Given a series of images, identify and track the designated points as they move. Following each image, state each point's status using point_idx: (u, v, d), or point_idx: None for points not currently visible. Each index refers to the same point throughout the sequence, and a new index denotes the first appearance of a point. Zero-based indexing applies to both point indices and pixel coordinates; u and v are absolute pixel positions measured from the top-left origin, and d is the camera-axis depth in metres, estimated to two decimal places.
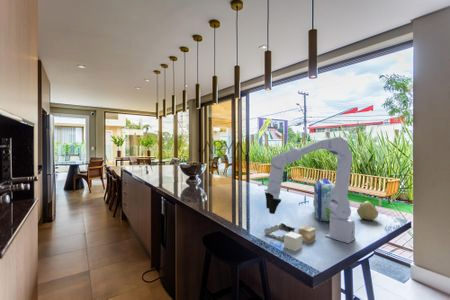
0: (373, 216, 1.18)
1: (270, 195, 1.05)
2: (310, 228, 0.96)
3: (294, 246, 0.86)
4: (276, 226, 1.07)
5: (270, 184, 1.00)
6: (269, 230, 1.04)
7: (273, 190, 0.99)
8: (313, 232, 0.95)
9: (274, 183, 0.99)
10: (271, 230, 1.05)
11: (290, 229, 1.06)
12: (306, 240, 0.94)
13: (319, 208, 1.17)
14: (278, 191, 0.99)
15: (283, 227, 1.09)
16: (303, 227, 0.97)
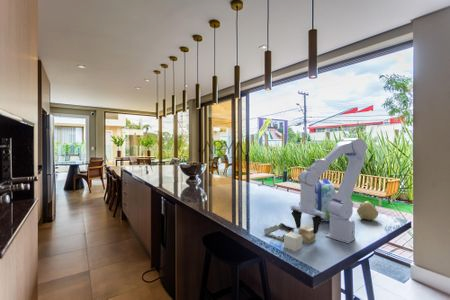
0: (373, 216, 1.18)
1: (298, 214, 0.99)
2: (310, 228, 0.96)
3: (294, 246, 0.86)
4: (276, 226, 1.08)
5: (309, 204, 0.93)
6: (269, 230, 1.04)
7: (312, 209, 0.94)
8: None
9: (312, 201, 0.94)
10: (271, 230, 1.05)
11: (290, 229, 1.06)
12: (306, 240, 0.94)
13: (319, 208, 1.17)
14: None
15: (283, 227, 1.09)
16: (303, 227, 0.97)
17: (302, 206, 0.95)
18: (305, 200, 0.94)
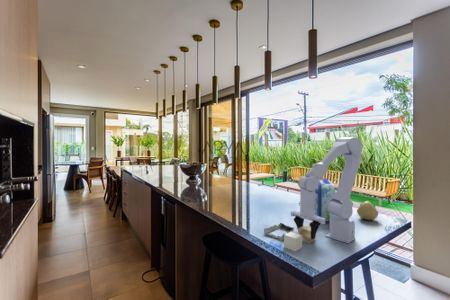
0: (373, 216, 1.18)
1: (301, 220, 0.98)
2: (310, 228, 0.96)
3: (294, 246, 0.86)
4: (275, 226, 1.08)
5: (308, 209, 0.93)
6: (268, 230, 1.04)
7: (312, 215, 0.94)
8: None
9: (312, 207, 0.94)
10: (270, 230, 1.05)
11: (289, 229, 1.06)
12: (306, 240, 0.94)
13: (319, 208, 1.17)
14: None
15: (282, 227, 1.09)
16: (303, 227, 0.97)
17: (302, 212, 0.95)
18: (305, 206, 0.94)
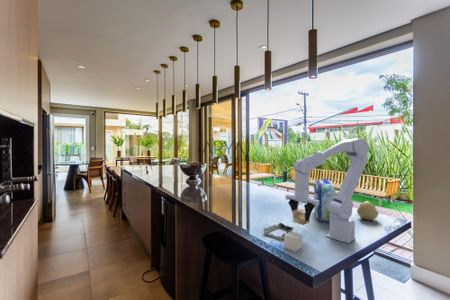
0: (373, 216, 1.18)
1: (295, 203, 0.99)
2: (304, 211, 0.97)
3: (294, 246, 0.86)
4: (275, 226, 1.08)
5: (303, 192, 0.94)
6: (268, 230, 1.04)
7: (307, 197, 0.95)
8: None
9: (307, 190, 0.95)
10: (270, 230, 1.05)
11: (288, 228, 1.06)
12: (300, 222, 0.95)
13: (319, 208, 1.17)
14: None
15: (281, 227, 1.09)
16: (297, 210, 0.98)
17: (296, 194, 0.96)
18: (299, 188, 0.95)
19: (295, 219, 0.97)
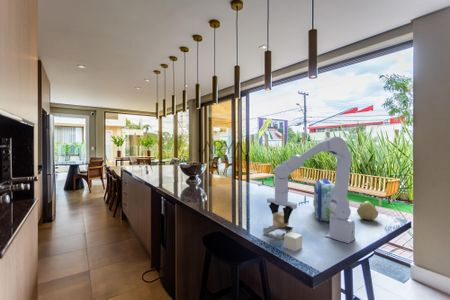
0: (373, 216, 1.18)
1: (275, 206, 1.04)
2: None
3: (294, 246, 0.86)
4: (274, 225, 1.08)
5: (282, 196, 0.99)
6: (267, 229, 1.04)
7: (285, 201, 1.00)
8: None
9: (285, 194, 1.00)
10: (269, 229, 1.05)
11: (288, 228, 1.07)
12: (279, 224, 1.00)
13: (319, 208, 1.17)
14: (287, 200, 1.02)
15: None
16: (277, 212, 1.03)
17: (276, 198, 1.01)
18: (278, 192, 1.00)
19: (275, 221, 1.02)
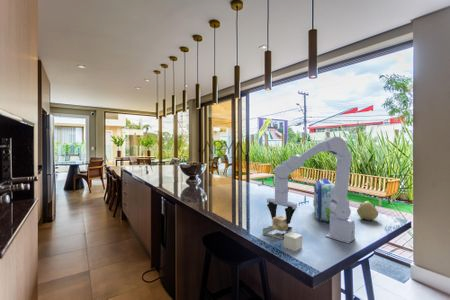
0: (373, 216, 1.18)
1: (273, 206, 1.05)
2: (283, 218, 1.02)
3: (294, 246, 0.86)
4: None
5: (282, 196, 0.99)
6: (267, 230, 1.05)
7: (285, 201, 1.00)
8: None
9: (285, 194, 1.00)
10: (269, 229, 1.06)
11: None
12: (279, 229, 1.00)
13: (319, 208, 1.17)
14: (287, 200, 1.02)
15: None
16: (277, 217, 1.03)
17: (276, 198, 1.01)
18: (278, 192, 1.00)
19: (274, 226, 1.02)
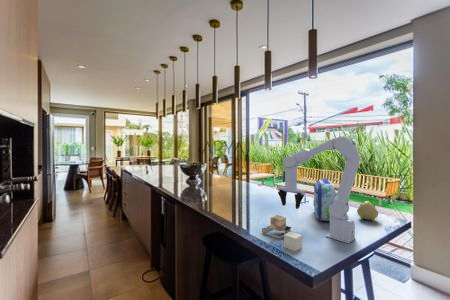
0: (373, 216, 1.18)
1: (284, 193, 1.16)
2: (281, 217, 1.03)
3: (294, 246, 0.86)
4: None
5: (291, 183, 1.10)
6: (266, 229, 1.05)
7: (295, 188, 1.11)
8: (284, 221, 1.02)
9: (295, 181, 1.11)
10: (268, 229, 1.06)
11: (286, 228, 1.07)
12: (277, 228, 1.01)
13: (319, 208, 1.17)
14: (296, 187, 1.13)
15: None
16: (275, 216, 1.04)
17: (286, 186, 1.12)
18: (289, 180, 1.11)
19: (272, 225, 1.02)
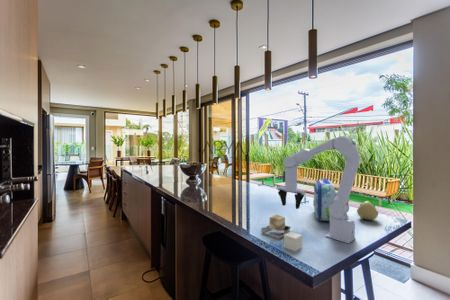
0: (373, 216, 1.18)
1: (284, 193, 1.16)
2: (280, 217, 1.03)
3: (294, 246, 0.86)
4: None
5: (291, 183, 1.10)
6: (265, 229, 1.05)
7: (295, 188, 1.11)
8: (283, 220, 1.02)
9: (295, 181, 1.11)
10: (267, 229, 1.06)
11: (286, 228, 1.08)
12: (276, 228, 1.01)
13: (319, 208, 1.17)
14: (296, 187, 1.13)
15: None
16: (274, 216, 1.04)
17: (286, 186, 1.12)
18: (289, 180, 1.11)
19: (271, 225, 1.03)
